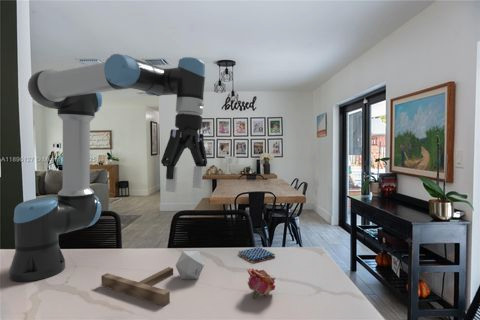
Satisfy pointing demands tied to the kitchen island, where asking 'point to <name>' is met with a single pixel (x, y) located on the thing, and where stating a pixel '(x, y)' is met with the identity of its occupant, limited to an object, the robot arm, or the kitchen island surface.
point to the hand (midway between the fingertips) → (184, 189)
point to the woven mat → (256, 254)
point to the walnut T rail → (141, 286)
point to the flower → (260, 282)
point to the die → (190, 265)
